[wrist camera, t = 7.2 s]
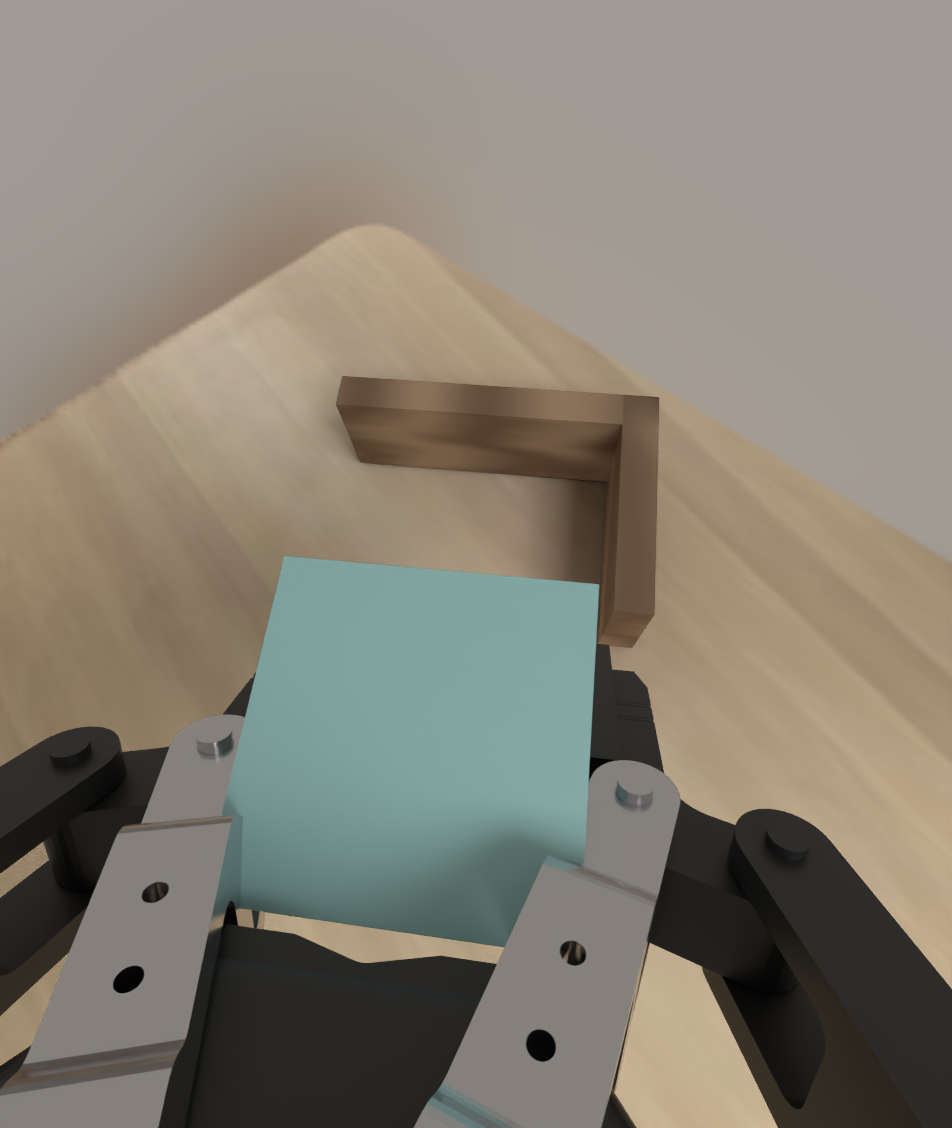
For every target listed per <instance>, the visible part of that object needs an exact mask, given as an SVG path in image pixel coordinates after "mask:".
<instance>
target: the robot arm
mask: <svg viewBox="0 0 952 1128" xmlns="http://www.w3.org/2000/svg"><path fill="white" fill-rule="evenodd" d="M255 675H256V673H255V674H254V678H251V679H250V681H249V682H248V683H247V684H246V686H245V687H244V688H243V689H242V691H241V692H240V693H239V694H238V696H237V697H236V698H235V700H234V701H233V702H232V703H231V705H230V706H229V707H228V708H227V710H226V711H225V712H224V713H223V715H216V716H211V717H207V718H203V719H200V720H198V721H196V722H193V723H191V724H190V725H188V726H186V727H185V728H183V729H182V730H181V731H180V732H179V733H178V734H177V735H176V736H175V737H174V738H173V740H172V742H171V744H170V747H164V748H157V749H147V750H138V751H129V752H122V749H121V744H120V740H119V737H118V735H117V734H116V733H115V732H113V731H111V730H109V729H106V728H102V727H81V728H76V729H71V730H67V731H64V732H61V733H58V734H56V735H54V736H51V737H49V738H47V739H45V740H44V741H42V742H40V743H39V744H37V745H35V746H34V747H32V748H30V749H29V750H27V751H25V752H24V753H22V754H21V755H19V756H17V757H16V758H14V759H12V760H11V761H9V762H7V763H6V764H4V765H2V766H1V767H0V873H2V872H3V871H4V870H6V869H7V868H8V867H10V866H11V865H12V864H14V863H15V862H16V861H18V860H19V859H20V858H22V857H23V856H24V855H26V854H27V853H28V852H30V851H31V850H32V849H34V848H35V847H36V846H38V845H39V844H40V843H42V842H44V845H45V848H46V852H47V855H48V858H49V861H47V862H46V863H45V864H43V865H42V866H41V867H40V868H38V869H37V870H36V871H34V872H33V873H32V874H31V875H29V876H28V877H27V878H25V879H24V880H23V881H22V882H20V883H19V884H18V885H16V886H15V887H14V888H13V889H11V890H10V891H9V892H7V893H6V894H5V895H4V896H2V897H1V898H0V1016H1V1015H2V1014H3V1013H4V1012H5V1011H6V1010H7V1009H8V1008H9V1007H10V1006H11V1005H12V1004H14V1003H15V1002H16V1001H17V1000H18V999H19V998H20V997H21V996H22V995H23V994H24V993H25V992H26V991H28V990H29V989H30V988H31V987H32V986H33V985H34V984H35V983H36V982H37V981H38V980H39V979H40V978H42V977H43V976H44V975H45V974H46V973H47V972H48V971H49V970H50V969H51V968H52V967H53V966H54V965H56V964H57V963H58V962H59V961H60V960H61V959H62V958H63V957H64V956H65V955H66V954H67V953H69V954H68V956H67V959H66V961H65V964H64V966H63V969H62V971H61V974H60V976H59V979H58V981H57V984H56V986H55V989H54V991H53V993H52V996H51V998H50V1001H49V1003H48V1006H47V1008H46V1011H45V1013H44V1016H43V1018H42V1021H41V1023H40V1026H39V1028H38V1030H37V1033H36V1035H35V1038H34V1040H33V1043H32V1045H31V1046H30V1047H28V1048H27V1049H25V1050H24V1051H22V1052H21V1053H19V1054H18V1055H16V1056H15V1057H13V1058H12V1059H10V1060H9V1061H7V1062H6V1063H4V1064H3V1065H1V1066H0V1128H636V1126H635V1125H634V1123H633V1121H632V1120H631V1118H630V1117H629V1115H628V1114H627V1112H626V1110H625V1109H624V1107H623V1106H622V1104H621V1103H620V1101H619V1099H618V1098H617V1096H616V1095H615V1091H616V1087H617V1083H618V1078H619V1074H620V1070H621V1065H622V1061H623V1056H624V1052H625V1047H626V1043H627V1038H628V1034H629V1030H630V1026H631V1021H632V1017H633V1013H634V1009H635V1004H636V1000H637V996H638V992H639V987H640V983H641V979H642V975H643V970H644V966H645V962H646V958H647V953H648V949H649V945H650V943H652V944H654V945H656V946H658V947H660V948H663V949H665V950H667V951H669V952H671V953H674V954H676V955H678V956H680V957H682V958H685V959H687V960H689V961H691V962H694V963H696V964H698V965H700V966H702V969H703V973H704V975H705V978H706V980H707V982H708V984H709V986H710V988H711V990H712V992H713V994H714V996H715V998H716V1001H717V1003H718V1005H719V1007H720V1009H721V1011H722V1013H723V1015H724V1017H725V1019H726V1021H727V1023H728V1025H729V1027H730V1029H731V1031H732V1034H733V1036H734V1038H735V1040H736V1042H737V1044H738V1046H739V1048H740V1050H741V1052H742V1054H743V1056H744V1058H745V1060H746V1062H747V1065H748V1067H749V1069H750V1071H751V1073H752V1075H753V1077H754V1079H755V1081H756V1083H757V1085H758V1087H759V1089H760V1091H761V1093H762V1095H763V1098H764V1100H765V1102H766V1104H767V1106H768V1108H769V1110H770V1112H771V1114H772V1116H773V1118H774V1120H775V1122H776V1124H777V1126H778V1128H952V989H951V988H950V986H949V985H948V984H947V983H946V982H945V980H944V979H943V978H942V977H941V975H940V974H939V973H938V972H937V971H936V969H935V968H934V967H933V966H932V964H931V963H930V962H929V961H928V960H927V958H926V957H925V956H924V955H923V953H922V952H921V951H920V950H919V949H918V947H917V946H916V945H915V944H914V942H913V941H912V940H911V939H910V938H909V936H908V935H907V934H906V933H905V932H904V930H903V929H902V928H901V927H900V925H899V924H898V923H897V922H896V921H895V919H894V918H893V917H892V916H891V914H890V913H889V912H888V911H887V910H886V908H885V907H884V906H883V905H882V903H881V902H880V901H879V900H878V899H877V897H876V896H875V895H874V894H873V892H872V891H871V890H870V889H869V888H868V886H867V885H866V884H865V883H864V881H863V880H862V879H861V878H860V877H859V875H858V874H857V873H856V872H855V871H854V869H853V868H852V867H851V866H850V864H849V863H848V862H847V861H846V860H845V858H844V857H843V856H842V855H841V853H840V852H839V851H838V850H837V849H836V847H835V846H834V845H833V844H832V842H831V841H830V840H829V839H828V838H827V837H826V836H825V835H824V834H823V833H822V832H821V831H820V830H819V829H817V828H816V827H815V826H813V825H812V824H810V823H809V822H807V821H805V820H803V819H802V818H800V817H797V816H795V815H793V814H790V813H787V812H784V811H779V810H773V809H757V810H752V811H749V812H747V813H745V814H744V815H742V816H741V817H740V818H739V819H738V821H737V823H736V825H733V824H731V823H728V822H725V821H722V820H720V819H717V818H714V817H711V816H709V815H706V814H704V813H701V812H699V811H698V810H696V809H694V808H692V807H691V806H689V805H688V804H686V803H685V802H683V801H682V800H681V799H680V794H679V792H678V789H677V787H676V786H675V784H674V783H673V782H672V781H671V779H670V778H669V777H667V776H666V775H665V774H664V770H663V765H662V760H661V755H660V750H659V745H658V740H657V735H656V729H655V724H654V722H653V714H652V709H651V708H650V706H651V704H650V699H649V694H648V689H647V687H646V686H645V684H644V683H643V682H642V681H641V680H640V679H639V677H638V676H637V675H636V674H635V673H634V672H631V671H622V670H612V666H611V657H610V648H609V645H606V644H596V653H595V672H594V690H593V709H592V727H591V746H590V764H589V783H588V801H587V820H586V838H585V857H584V863H580V862H574V861H569V860H564V859H560V858H556V857H554V856H551V855H549V856H548V857H547V858H546V859H545V861H544V863H543V864H542V867H541V869H540V871H539V873H538V875H537V877H536V880H535V882H534V884H533V886H532V888H531V891H530V893H529V895H528V897H527V899H526V902H525V904H524V906H523V908H522V910H521V913H520V915H519V917H518V919H517V921H516V924H515V926H514V928H513V930H512V932H511V935H510V937H509V939H508V941H507V943H506V946H505V948H504V950H503V952H502V954H501V957H500V959H499V961H498V963H497V964H493V963H486V962H479V961H472V960H466V959H459V958H452V957H445V956H434V957H424V958H414V959H405V960H395V961H385V962H375V963H360V962H357V961H354V960H352V959H349V958H347V957H345V956H343V955H340V954H338V953H336V952H334V951H331V950H329V949H327V948H325V947H323V946H320V945H318V944H316V943H314V942H311V941H309V940H307V939H305V938H303V937H300V936H298V935H296V934H291V933H284V932H277V931H271V930H264V929H263V927H264V919H265V912H261V911H254V910H248V909H241V908H240V898H241V863H242V829H243V817H242V816H238V815H237V814H233V815H223V816H222V811H223V807H224V802H225V798H226V794H227V790H228V786H229V782H230V778H231V774H232V770H233V765H234V761H235V757H236V753H237V749H238V745H239V741H240V737H241V732H242V728H243V724H244V720H245V716H246V712H247V708H248V704H249V699H250V695H251V691H252V687H253V683H254V679H255Z"/></svg>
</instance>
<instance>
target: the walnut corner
mask: <svg viewBox="0 0 952 1128" xmlns="http://www.w3.org/2000/svg"><path fill="white" fill-rule="evenodd" d="M336 405H337V408H338V410H339V413H340V415H341V417H342V420H343V422H344V424H345V427H346V429H347V431H348V434H349V436H350V439H351V441H352V443H353V446H354V448H355V450H356V453H357V455H358V457H359V460H360V462H365V463H378V464H391V465H403V466H416V467H428V468H441V469H454V470H466V471H479V472H492V473H504V474H517V475H529V476H542V477H555V478H567V479H580V480H593V481H605V482H607V489H606V507H605V526H604V544H603V563H602V582H601V600H600V619H599V637H598V644H606V645H610V646H620V647H629V648H632V647H633V646H634V644H635V643H636V641H637V640H638V638H639V637H640V635H641V634H642V632H643V631H644V629H645V628H646V626H647V625H648V623H649V622H650V620H651V619H652V617H653V616H654V608H655V563H656V518H657V473H658V428H659V397H647V396H632V395H617V394H602V393H587V392H572V391H557V390H542V389H527V388H512V387H497V386H482V385H467V384H453V383H438V382H423V381H408V380H393V379H378V378H363V377H348V376H342V380H341V385H340V389H339V393H338V397H337V402H336Z"/></svg>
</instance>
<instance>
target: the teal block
mask: <svg viewBox="0 0 952 1128" xmlns="http://www.w3.org/2000/svg"><path fill="white" fill-rule="evenodd" d="M598 597H599V584H590V583H579V582H568V581H557V580H546V579H535V578H524V577H512V576H501V575H490V574H479V573H468V572H457V571H446V570H435V569H423V568H412V567H401V566H390V565H379V564H368V563H357V562H346V561H334V560H323V559H312V558H301V557H290V556H284V559H283V564H282V568H281V572H280V576H279V580H278V584H277V588H276V592H275V596H274V601H273V605H272V609H271V613H270V617H269V621H268V625H267V629H266V634H265V638H264V642H263V646H262V650H261V654H260V658H259V662H258V667H257V671H256V675H255V679H254V683H253V687H252V691H251V695H250V699H249V704H248V708H247V712H246V716H245V720H244V724H243V728H242V732H241V737H240V741H239V745H238V749H237V753H236V757H235V761H234V765H233V770H232V774H231V778H230V782H229V786H228V790H227V794H226V798H225V802H224V807H223V811H222V816H223V815H233V814H237V815H238V816H242V817H243V829H242V863H241V898H240V908H241V909H248V910H254V911H261V912H268V913H275V914H282V915H288V916H295V917H302V918H309V919H316V920H322V921H329V922H336V923H343V924H350V925H356V926H363V927H370V928H377V929H384V930H390V931H397V932H404V933H411V934H418V935H424V936H431V937H438V938H445V939H452V940H459V941H465V942H472V943H479V944H486V945H493V946H499V947H505V946H506V943H507V941H508V939H509V937H510V935H511V932H512V930H513V928H514V926H515V924H516V921H517V919H518V917H519V915H520V913H521V910H522V908H523V906H524V904H525V902H526V899H527V897H528V895H529V893H530V891H531V888H532V886H533V884H534V882H535V880H536V877H537V875H538V873H539V871H540V869H541V867H542V864H543V863H544V861H545V859H546V858H547V857H548V856H549V855H551V856H554V857H556V858H560V859H564V860H569V861H574V862H580V863H584V857H585V838H586V820H587V801H588V783H589V764H590V746H591V727H592V709H593V690H594V672H595V653H596V634H597V616H598Z"/></svg>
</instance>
